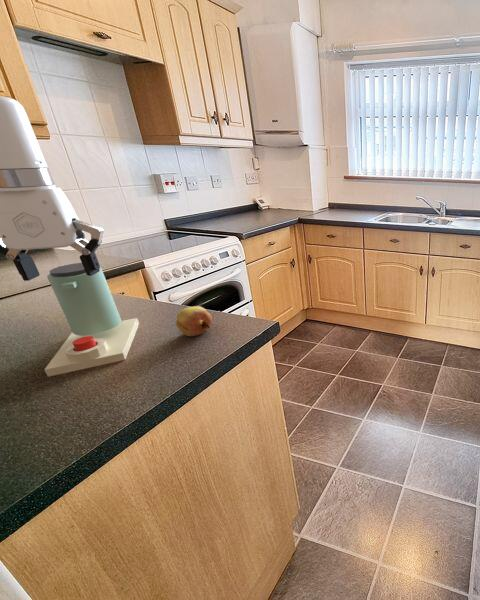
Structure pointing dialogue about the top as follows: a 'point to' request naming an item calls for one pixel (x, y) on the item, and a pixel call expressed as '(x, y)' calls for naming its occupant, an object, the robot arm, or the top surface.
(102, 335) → the kettle base
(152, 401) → the top surface
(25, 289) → the top surface
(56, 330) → the top surface
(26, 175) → the robot arm
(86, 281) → the kettle
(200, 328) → the fruit
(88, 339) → the switch
